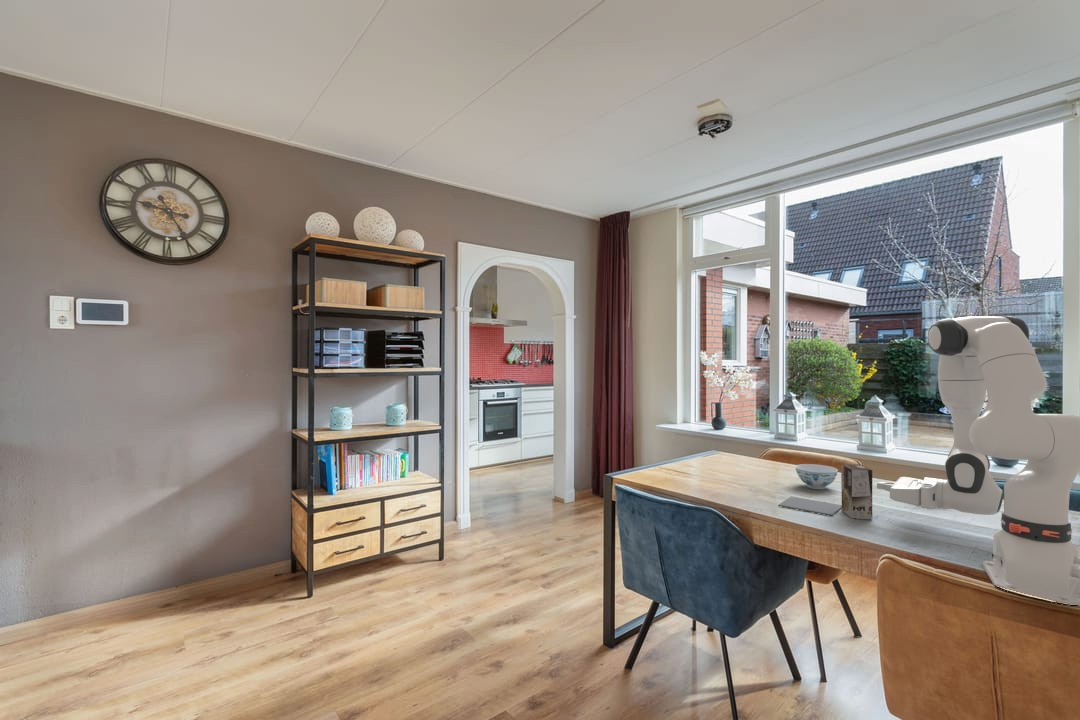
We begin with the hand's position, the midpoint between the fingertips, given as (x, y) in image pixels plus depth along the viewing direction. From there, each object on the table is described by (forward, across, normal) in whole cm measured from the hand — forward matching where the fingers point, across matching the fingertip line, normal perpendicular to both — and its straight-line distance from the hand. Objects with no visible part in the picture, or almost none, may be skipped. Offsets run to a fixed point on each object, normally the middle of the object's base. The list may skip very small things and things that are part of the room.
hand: (877, 484), depth 165 cm
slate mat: (+20, 0, +11) cm, 23 cm away
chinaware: (+26, -30, +11) cm, 41 cm away
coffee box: (+6, 0, +11) cm, 13 cm away
